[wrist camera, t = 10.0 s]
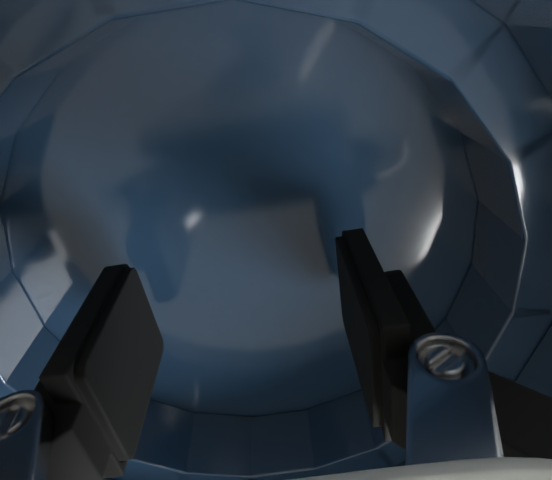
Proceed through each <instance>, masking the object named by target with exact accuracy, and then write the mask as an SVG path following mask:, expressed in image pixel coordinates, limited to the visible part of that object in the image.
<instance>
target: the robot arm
mask: <svg viewBox="0 0 552 480" xmlns="http://www.w3.org/2000/svg"><path fill="white" fill-rule="evenodd" d="M335 243H336V254H337V266H338V277H339V288H340V299H341V310H342V318H343V323H344V327H345V331H346V335H347V338H348V342H349V345H350V349H351V352H352V356H353V360H354V363H355V367H356V370H357V374H358V378H359V381H360V385H361V388H362V392H363V395H364V399H365V403H366V406H367V410H368V413H369V417H370V421H371V424H372V427H373V428H374V427H381V429H382V433H383V436H384V439H385V441H391V440H392V442H393V443H395V444H397V445H398V446H400V447H402V448H403V449H405V450H406V463H405V466H397V467H388V468H378V469H370V470H362V471H354V472H346V473H338V474H330V475H322V476H314V477H306V478H298V479H289V480H552V398H551V397H549V396H547V395H544V394H542V393H539V392H537V391H535V390H532V389H530V388H527V387H525V386H523V385H520V384H518V383H516V382H513V381H511V380H508V379H506V378H504V377H501V376H499V375H496V374H494V373H492V372H489V371H488V367H487V362H486V359H485V357H484V354H483V352H482V351H481V350H480V349H479V348H478V347H477V345H475V344H474V343H472V342H471V341H469V340H468V339H466V338H464V337H461V336H459V335H456V334H452V333H446V332H436V331H435V329H434V327H433V326H432V324H431V322H430V320H429V318H428V317H427V315H426V313H425V311H424V309H423V308H422V306H421V304H420V302H419V301H418V299H417V297H416V295H415V293H414V292H413V290H412V288H411V286H410V285H409V283H408V281H407V279H406V277H405V276H404V274H403V272H402V271H401V270H393V271H386V272H384V270H383V268H382V266H381V264H380V262H379V260H378V258H377V256H376V254H375V252H374V250H373V248H372V246H371V244H370V242H369V240H368V238H367V236H366V234H365V232H364V230H363V228H359V229H352V230H345V231H342V236H340V237H335ZM163 350H164V343H163V338H162V335H161V333H160V330H159V327H158V325H157V322H156V320H155V317H154V314H153V312H152V309H151V306H150V304H149V301H148V299H147V296H146V293H145V291H144V288H143V286H142V283H141V280H140V278H139V275H138V272H137V270H136V269H135V268H130V267H129V266H128V265H127V264H120V265H113V266H107V267H105V268H104V269H103V270H102V272H101V274H100V275H99V277H98V279H97V280H96V282H95V284H94V285H93V287H92V289H91V290H90V292H89V294H88V295H87V297H86V299H85V300H84V302H83V304H82V305H81V307H80V309H79V311H78V312H77V314H76V316H75V317H74V319H73V321H72V322H71V324H70V326H69V327H68V329H67V331H66V332H65V334H64V336H63V337H62V339H61V341H60V342H59V344H58V346H57V347H56V349H55V351H54V352H53V354H52V356H51V357H50V359H49V361H48V363H47V364H46V366H45V368H44V369H43V371H42V373H41V374H40V376H39V379H40V381H39V382H38V384H37V386H36V387H35V389H34V390H21V391H17V392H14V393H11V394H9V395H6V396H4V397H2V398H0V480H102V479H103V478H110V477H118V476H123V475H124V472H125V468H126V465H127V461H128V460H131V459H133V457H134V456H135V453H136V449H137V445H138V442H139V438H140V435H141V431H142V427H143V424H144V420H145V416H146V413H147V409H148V405H149V402H150V398H151V394H152V391H153V387H154V384H155V380H156V376H157V373H158V369H159V365H160V362H161V358H162V354H163Z"/></svg>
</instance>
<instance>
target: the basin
mask: <svg viewBox="0 0 552 480" xmlns="http://www.w3.org/2000/svg"><path fill="white" fill-rule="evenodd" d="M359 228H363V230H364V232H365V234H366V236H367V238H368V240H369V242H370V244H371V246H372V248H373V250H374V252H375V254H376V256H377V258H378V260H379V262H380V264H381V266H382V268H383V270H384V272H386V271H393V270H401V271H402V272H403V274H404V276H405V277H406V279H407V281H408V283H409V285H410V286H411V288H412V290H413V292H414V293H415V295H416V297H417V299H418V301H419V302H420V304H421V306H422V308H423V309H424V311H425V313H426V315H427V317H428V318H429V320H430V322H431V324H432V326H433V327H434V329H435V331H436V332H446V333H452V334H456V335H459V336H461V337H464V338H466V339H468V340H469V341H471V342H472V343H474V344H475V345H477V347H478V348H479V349H480V350H481V351H482V352H483V354H484V357H485V359H486V362H487V367H488V371H489V372H492V373H494V374H496V375H499V376H501V377H504V378H506V379H508V380H511V381H513V382H516V383H518V384H520V385H523V386H525V387H527V388H530V389H532V390H535V391H537V392H539V393H542V394H544V395H547V396H549V397H551V398H552V0H0V398H2V397H4V396H6V395H9V394H11V393H14V392H17V391H21V390H34V389H35V387H36V386H37V384H38V382H39V381H40V379H39V376H40V374H41V373H42V371H43V369H44V368H45V366H46V364H47V363H48V361H49V359H50V357H51V356H52V354H53V352H54V351H55V349H56V347H57V346H58V344H59V342H60V341H61V339H62V337H63V336H64V334H65V332H66V331H67V329H68V327H69V326H70V324H71V322H72V321H73V319H74V317H75V316H76V314H77V312H78V311H79V309H80V307H81V305H82V304H83V302H84V300H85V299H86V297H87V295H88V294H89V292H90V290H91V289H92V287H93V285H94V284H95V282H96V280H97V279H98V277H99V275H100V274H101V272H102V270H103V269H104V268H105V267H107V266H113V265H120V264H127V265H128V266H129V267H130V268H135V269H136V270H137V272H138V275H139V278H140V280H141V283H142V286H143V288H144V291H145V293H146V296H147V299H148V301H149V304H150V306H151V309H152V312H153V314H154V317H155V320H156V322H157V325H158V327H159V330H160V333H161V335H162V338H163V343H164V350H163V354H162V358H161V362H160V365H159V369H158V373H157V376H156V380H155V384H154V387H153V391H152V394H151V398H150V402H149V405H148V409H147V413H146V416H145V420H144V424H143V427H142V431H141V435H140V438H139V442H138V445H137V449H136V453H135V456H134V457H133V459H131V460H128V461H127V465H126V468H125V472H124V475H123V476H118V477H110V478H103V479H102V480H289V479H298V478H306V477H314V476H322V475H330V474H338V473H346V472H354V471H362V470H370V469H378V468H388V467H397V466H405V463H406V450H405V449H403V448H402V447H400V446H398V445H397V444H395V443H393V442H392V440H391V441H385V439H384V436H383V433H382V429H381V427H374V428H373V427H372V424H371V421H370V417H369V413H368V410H367V406H366V403H365V399H364V395H363V392H362V388H361V385H360V381H359V378H358V374H357V370H356V367H355V363H354V360H353V356H352V352H351V349H350V345H349V342H348V338H347V335H346V331H345V327H344V323H343V318H342V310H341V299H340V288H339V277H338V266H337V254H336V243H335V237H340V236H342V231H345V230H352V229H359Z"/></svg>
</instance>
